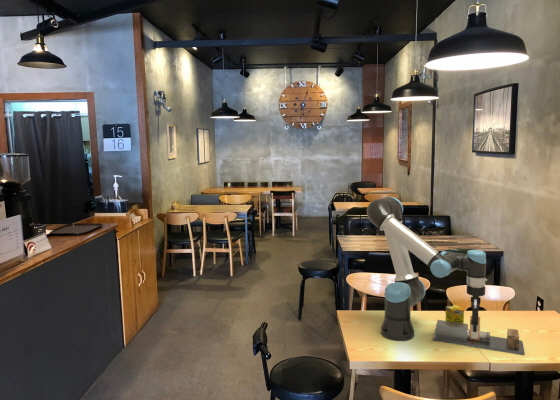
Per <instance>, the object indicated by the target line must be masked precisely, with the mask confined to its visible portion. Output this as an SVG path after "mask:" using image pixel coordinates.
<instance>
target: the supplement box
mask: <svg viewBox="0 0 560 400" xmlns="http://www.w3.org/2000/svg"><path fill="white" fill-rule="evenodd" d="M445 321H450V322H458V323H465V322H464V321H465V309H464V308H462V307H460V306H458V305H457V304H456V305H455V304H454V305H448V306H445Z"/></svg>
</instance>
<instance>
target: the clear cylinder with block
mask: <svg viewBox="0 0 560 400" xmlns="http://www.w3.org/2000/svg"><path fill="white" fill-rule="evenodd" d="M470 323H472V315H470V317H469V328H468V329H467V338H470V340H476V341H480V340H487V341H490V336H491V333H490V332H488V331H482V330H481V329H480V328H481V316H478V339H474V338H471V328H472V324H470Z"/></svg>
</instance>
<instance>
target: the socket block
mask: <svg viewBox="0 0 560 400" xmlns="http://www.w3.org/2000/svg"><path fill="white" fill-rule="evenodd" d="M506 333H507V334H506V335H507V337H506V338H507V342H508V348H512V349H519V340H520V335H519V329H516V328H515V329H513V328H507V330H506Z"/></svg>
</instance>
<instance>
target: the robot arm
mask: <svg viewBox="0 0 560 400" xmlns="http://www.w3.org/2000/svg"><path fill="white" fill-rule="evenodd" d="M403 213H404V207H403V204H402V202H401V201H400V199H397V198H396V197H394V196H386V197H382V198H376V199H373V200H372V201H370V203H369V204H368V205H367V208H366V215H367V218H368V220H369V222H370V223H372V224H373V225H374V226H375V227H376V228H377V229H378V230H379V231H381V232H382V231H383V232H384V235H385V239H386V243H387V247H388V251H389V254H390V257H391V261H392V265H393V268H394V272H395V277H394V280H393V281H394V282H391V283H389V284H387V285H386V286H385V288H384V293H383V294H384V319H383V321H382V324H381V327H380V334H381V335H382V336H383V337H384V338H386V339H389V340H392V341H398V342H400V341H401V342H402V341H405V342H406V341H410V340H412V339H413V338H414V337H415V329H414V325H413V323H412V320H411V308H412V307H414V306H415V305H417V304H418V303H420V302H421V301H422V300H423V299H424V297H425V295H426V290H427V289H426V286H425V284H424V282H423V281H422V280H421V279H420V278H419V275H418V274H417V273H415V272H414V269H413V265H412V260H411V257H410V254H409V252H410V253H412V254H413V255H415V257H416V258H418V259H419V260H420V261H421V262H423V263H424V264H426V266H428V267H429V268H430V269H429V270H430V272H431V273H432V275H433V276H434V277H435V278H440V279H441V278H444V277H447V276H449V275H450V274H452V272H453V273H454V272H455V271H456V270H457V271H462V272H466V294H467V295H469V296H470V309H471V316H472V323H470V322H469V325H470V324H472V328H471V338H474V339H478V317H480V315H479V310H480V308H481V305H480V304H481V302H482V301H481V299H482V297H484V296H485V295H486V282H487V281H488V279H487V278H486V276H487V275H486V273H487V254H486V252H485V251H483V250H479V249H470V250H469V249H468V250H467V253H460V252H453V251H450V250H448V251H441V252H439V251H438V250H437V249H435V248H434V247H432V246H431V245H430V244H429V243H427V242H426V241H425V240H423V238H421V237H420V236H418V235H417V234H416V233H415V232H414V231H412V230H411V229H410V228H408V227H407V226H406V225H404V224H403V221H404V220H403Z"/></svg>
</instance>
